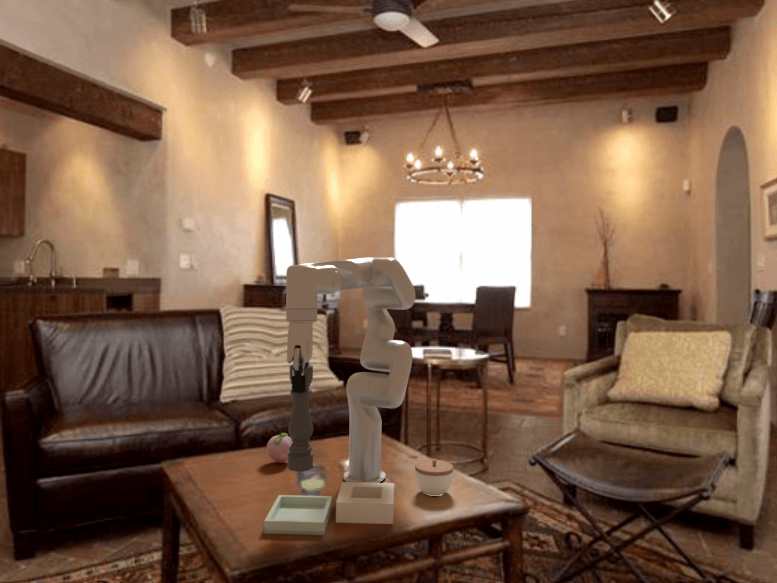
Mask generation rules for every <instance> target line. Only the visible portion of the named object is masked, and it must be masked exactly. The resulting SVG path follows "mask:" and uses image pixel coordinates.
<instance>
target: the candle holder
mask: <svg viewBox="0 0 777 583" xmlns="http://www.w3.org/2000/svg"><path fill="white" fill-rule="evenodd" d="M301 367H302V366H301ZM301 369H302V368H301ZM292 370H293V364H292V365H290V366H289V381H290V384H291V385H292ZM304 375H306V390H305V392H292V389H291V390H290V392H289V393H290V394H291V396H292V398H293V399H292V401H293V402H292V411H291V416H290V419H289V422H288V423H289V424H288V429H287V430H288V431H287V432H288V436H289V437H290V438H291V439H292V442H293V443H292V444H291V446H290V447H289V451H290V452H289V453H288V459H287V470H289V471H291V472H307V471H310V470H312V469H313V468H314V452H312V451H313V446H312V445H311V443H310V442H309V441H310V438H311V437H312V436H313V434H314V433H313V432H314V426H313V421H312V417H311V413H310V397H311V396H310V395H312V389H310V387H311V384H312V382H313V381H312V380H313V378H314V376H313V375H314V366H313V365H312V364H309V365H305V372H304Z"/></svg>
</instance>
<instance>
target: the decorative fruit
mask: <svg viewBox="0 0 777 583" xmlns="http://www.w3.org/2000/svg"><path fill="white" fill-rule="evenodd" d="M292 443H293V442H292V438H291V437H290V435H289V433H286V432H280V433H279V434H277V435H275V436H272V437H271V438H270V439H269V440H268V442H267V444H266V453H267V455H268V457H269V458H270V459H271V460H272V461H275V462H277V463H279V464H282V463H284V462H286V461H288V453H289V452H290V451H289V447H290V446H291V444H292Z"/></svg>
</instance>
